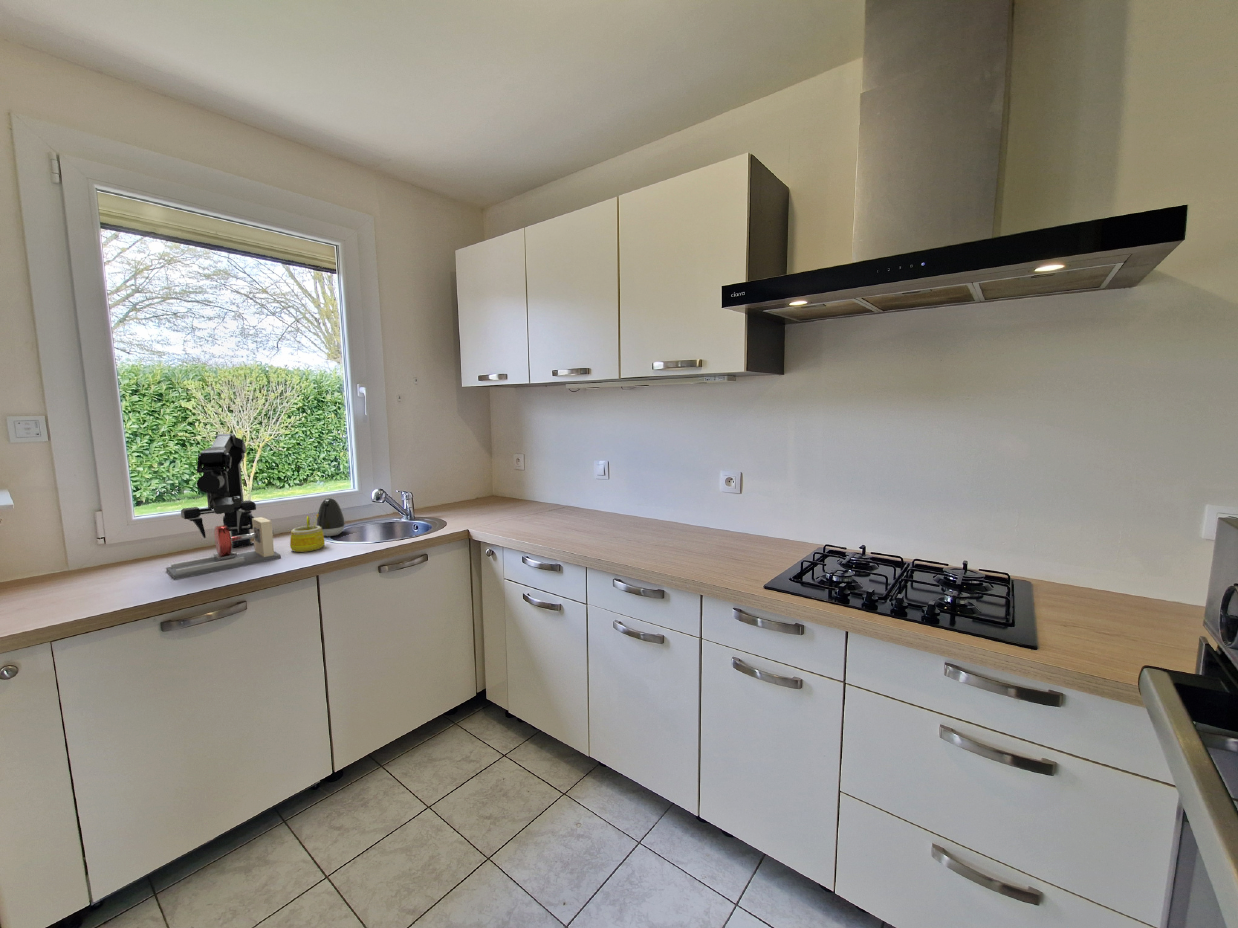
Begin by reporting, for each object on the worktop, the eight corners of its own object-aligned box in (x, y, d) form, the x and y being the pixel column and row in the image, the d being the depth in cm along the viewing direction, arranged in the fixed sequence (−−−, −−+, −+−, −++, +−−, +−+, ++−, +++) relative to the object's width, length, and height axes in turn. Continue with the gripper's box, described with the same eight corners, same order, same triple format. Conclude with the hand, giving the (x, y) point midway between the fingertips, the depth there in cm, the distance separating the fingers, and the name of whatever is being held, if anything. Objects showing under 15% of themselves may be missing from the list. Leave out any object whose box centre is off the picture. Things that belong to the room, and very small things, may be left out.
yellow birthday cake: (309, 554, 178) (306, 521, 176) (283, 552, 180) (280, 520, 178) (336, 544, 190) (334, 513, 189) (311, 543, 192) (309, 512, 191)
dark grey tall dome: (313, 538, 199) (310, 501, 197) (321, 532, 209) (318, 496, 207) (341, 536, 201) (339, 499, 200) (348, 530, 211) (345, 495, 210)
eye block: (166, 571, 160) (161, 530, 159) (269, 551, 181) (266, 515, 180) (174, 579, 152) (169, 537, 150) (280, 558, 173) (277, 520, 171)
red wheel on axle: (212, 558, 168) (209, 524, 166) (270, 548, 180) (267, 516, 179) (219, 564, 161) (216, 529, 160) (279, 553, 174) (276, 520, 172)
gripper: (185, 495, 151) (190, 545, 153) (258, 487, 165) (263, 533, 167) (178, 491, 158) (183, 539, 160) (249, 484, 173) (253, 528, 174)
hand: (222, 534), depth 165 cm, fingers open, 9 cm apart
